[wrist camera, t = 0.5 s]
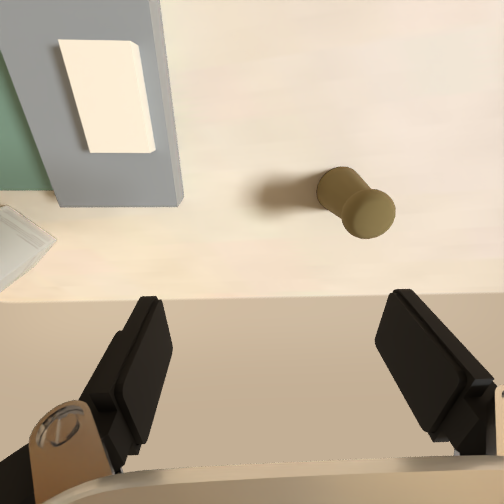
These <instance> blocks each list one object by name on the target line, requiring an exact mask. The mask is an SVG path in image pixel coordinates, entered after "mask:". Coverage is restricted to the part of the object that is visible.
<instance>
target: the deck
mask: <svg viewBox="0 0 504 504" xmlns="http://www.w3.org/2000/svg"><path fill="white" fill-rule="evenodd" d="M58 39H63V40H119V41H131V42H133V43H135V44H137V45H138V46H139V52H140V58H141V64H142V70H143V76H144V82H145V88H146V94H147V100H148V106H149V112H150V118H151V125H152V131H153V137H154V143H155V149H156V150H155V151H153V152H151V153H90V150H89V147H88V143H87V140H86V136H85V133H84V129H83V126H82V122H81V119H80V115H79V112H78V108H77V105H76V101H75V98H74V94H73V91H72V87H71V84H70V80H69V77H68V73H67V70H66V66H65V63H64V59H63V56H62V52H61V49H60V45H59V42H58ZM0 50H1V53H2V55H3V58H4V61H5V63H6V66H7V69H8V71H9V74H10V77H11V79H12V82H13V84H14V87H15V90H16V92H17V95H18V98H19V100H20V103H21V106H22V108H23V111H24V114H25V116H26V119H27V122H28V124H29V127H30V129H31V132H32V135H33V137H34V140H35V143H36V145H37V148H38V151H39V153H40V156H41V159H42V161H43V164H44V166H45V169H46V172H47V174H48V177H49V180H50V182H51V185H52V188H53V190H54V193H55V196H56V198H57V201H58V204H59V206H60V207H178V206H179V204H180V203H181V201H182V199H183V198H184V192H183V184H182V176H181V168H180V160H179V152H178V144H177V136H176V128H175V120H174V112H173V104H172V96H171V88H170V80H169V72H168V64H167V56H166V48H165V40H164V32H163V24H162V16H161V8H160V0H0Z"/></svg>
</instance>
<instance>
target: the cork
mask: <svg viewBox="0 0 504 504" xmlns="http://www.w3.org/2000/svg"><path fill="white" fill-rule="evenodd" d="M317 198H318V200H319V202H320V204H321V205H322V206H323V207H325V208H326V209H327V210H329V211H330V212H332V213H333V214H335V215H336V216H338V217H340V218H341V219H342V223H343V225H344V227H345V229H346V230H347V231H348V232H349V233H350V234H351V235H353V236H355V237H358V238H361V239H370V238H374V237H378V236H380V235H382V234H383V233H385V232H386V231H387V230H388V229H389V228H390V226H391V225H392V223H393V221H394V218H395V205H394V203H393V200H392V199H391V198H390V197H389V196H388V195H387V194H386V193H384V192H382V191H379V190H377V189H371V188H370V187H369V186H368V185H367V184H366V183H365V181H364V180H363V179H362V178H361V177H360V176H359V175H358V174H357V173H356V172H355V171H354V170H353V169H351V168H348V167H337V168H334V169H332V170H330V171H328V172H327V173H326V174H325V175H324V176H323V177H322V178H321V180H320V182H319V184H318V187H317Z"/></svg>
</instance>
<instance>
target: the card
mask: <svg viewBox="0 0 504 504" xmlns="http://www.w3.org/2000/svg"><path fill="white" fill-rule="evenodd" d="M58 42H59V45H60V49H61V52H62V56H63V59H64V63H65V66H66V70H67V73H68V77H69V80H70V84H71V87H72V91H73V94H74V98H75V101H76V105H77V108H78V112H79V115H80V119H81V122H82V126H83V129H84V133H85V136H86V140H87V143H88V147H89V150H90V153H151V152H153V151H155V150H156V149H155V143H154V137H153V131H152V125H151V118H150V112H149V106H148V100H147V94H146V88H145V82H144V76H143V70H142V64H141V58H140V52H139V46H138V45H137V44H135V43H133V42H131V41H119V40H63V39H58Z"/></svg>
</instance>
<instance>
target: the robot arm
mask: <svg viewBox="0 0 504 504" xmlns="http://www.w3.org/2000/svg"><path fill="white" fill-rule="evenodd" d="M375 345H376V347H377V349H378V351H379V353H380V355H381V357H382V358H383V360H384V362H385V363H386V365H387V367H388V369H389V371H390V373H391V374H392V376H393V378H394V380H395V381H396V383H397V385H398V387H399V389H400V391H401V392H402V394H403V396H404V398H405V399H406V401H407V403H408V405H409V407H410V408H411V410H412V412H413V414H414V416H415V417H416V419H417V421H418V423H419V425H420V426H421V428H422V429H423V430H424V431H425V432H428V434H429V435H430V437H431V439H432V441H433V442H449V441H450V442H451V444H452V446H453V447H454V456H429V457H402V458H378V459H352V460H328V461H308V462H307V461H306V462H284V463H262V464H242V465H221V466H201V467H186V468H171V469H157V470H143V471H135V472H128V473H123V470H122V466H123V465H124V464H125V461H126V458H127V455H138V454H139V450H140V447H141V444H145V443H146V441H147V439H148V436H149V433H150V429H151V426H152V422H153V419H154V415H155V412H156V408H157V405H158V401H159V398H160V394H161V391H162V387H163V384H164V380H165V377H166V373H167V370H168V366H169V362H170V359H171V356H172V350H173V347H172V341H171V337H170V333H169V328H168V324H167V320H166V316H165V311H164V307H163V303H162V300H158V298H157V297H156V296H142V297H140V299H139V300H138V302H137V304H136V306H135V308H134V310H133V312H132V314H131V315H130V317H129V319H128V321H127V323H126V325H125V326H124V328H123V330H122V331H118V332H117V333H116V334H115V336H114V337H113V339H112V341H111V343H110V344H109V346H108V348H107V350H106V352H105V353H104V355H103V357H102V359H101V361H100V362H99V364H98V366H97V368H96V370H95V371H94V373H93V375H92V377H91V379H90V380H89V382H88V384H87V386H86V387H85V389H84V391H83V393H82V394H81V396H80V398H79V400H72V401H68V402H65V403H62V404H61V405H58V406H56V407H55V408H53V409H52V410H50V411H49V412H48V413H46V415H45V416H44V417H42V418H41V419H40V420H39V422H38V423H37V424H36V426H35V427H34V429H33V431H32V433H31V435H30V437H29V443H28V444H27V445H25V446H23V447H22V448H20V449H19V450H17V451H16V452H14V453H13V454H11V455H10V456H8V457H7V458H6V459H4V460H3V461H1V462H0V504H504V384H503V385H499V386H498V387H497V385H496V384H494V382H493V380H494V378H493V377H492V375H491V374H490V373H489V372H488V371H487V370H486V369H485V368H484V367H483V366H482V365H481V364H480V363H479V362H478V360H476V359H475V357H474V356H473V355H472V354H471V353H470V352H469V351H468V350H467V349H466V347H465V346H464V345H463V344H462V343H461V342H460V341H459V340H458V339H457V338H456V337H455V336H454V335H453V333H452V332H450V330H449V329H448V328H447V327H446V326H445V325H444V324H443V323H442V322H441V321H440V319H438V317H437V316H436V315H435V314H434V313H433V312H432V311H431V310H430V309H429V308H428V307H427V305H426V304H425V303H424V302H423V301H422V300H421V299H420V298H419V297H418V296H417V295H416V294H415V293H414V291H412V290H411V289H396V290H394V291H393V293H390V294H389V296H388V299H387V303H386V306H385V309H384V312H383V315H382V318H381V321H380V324H379V328H378V331H377V334H376V337H375Z"/></svg>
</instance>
